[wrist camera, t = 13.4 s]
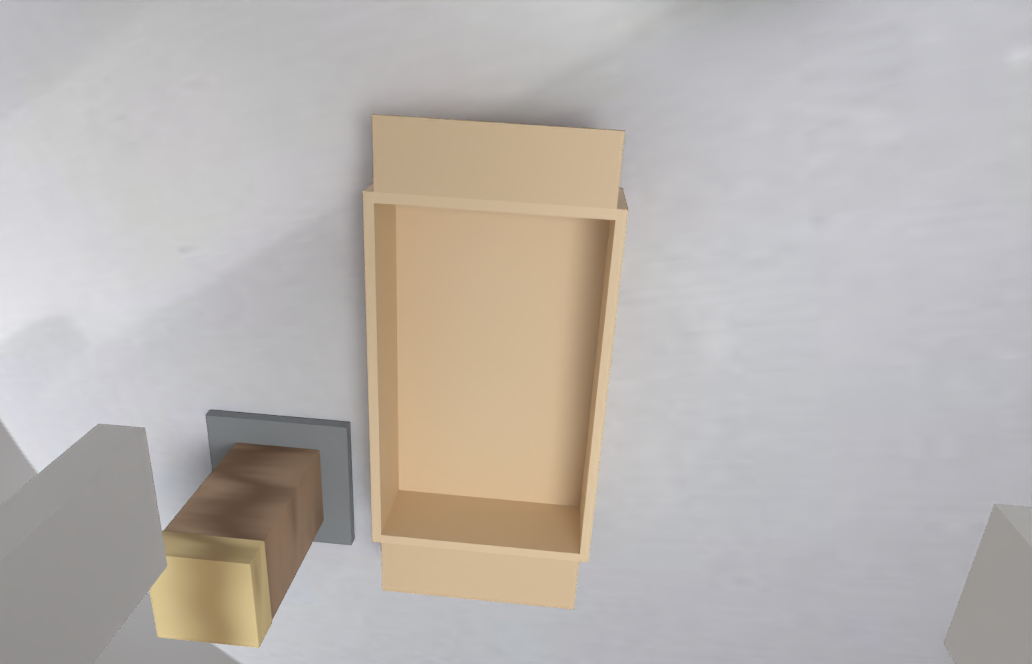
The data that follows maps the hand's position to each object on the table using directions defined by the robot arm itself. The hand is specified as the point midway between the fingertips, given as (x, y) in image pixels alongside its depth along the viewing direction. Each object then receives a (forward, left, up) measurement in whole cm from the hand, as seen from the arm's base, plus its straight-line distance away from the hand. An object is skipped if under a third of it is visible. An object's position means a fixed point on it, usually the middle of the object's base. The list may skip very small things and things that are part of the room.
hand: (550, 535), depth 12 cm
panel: (+24, -19, -35) cm, 46 cm away
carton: (+13, -4, -35) cm, 37 cm away
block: (+24, -19, -34) cm, 46 cm away
